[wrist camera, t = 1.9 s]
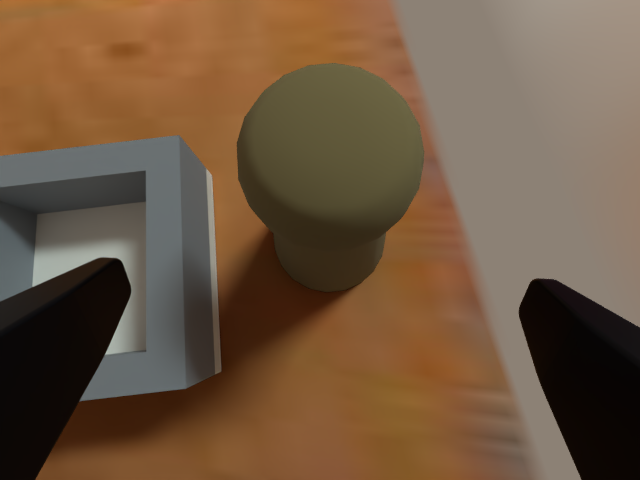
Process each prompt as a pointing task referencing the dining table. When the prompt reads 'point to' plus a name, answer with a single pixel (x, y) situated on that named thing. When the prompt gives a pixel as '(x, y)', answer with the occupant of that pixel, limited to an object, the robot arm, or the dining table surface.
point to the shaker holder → (123, 250)
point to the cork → (330, 170)
